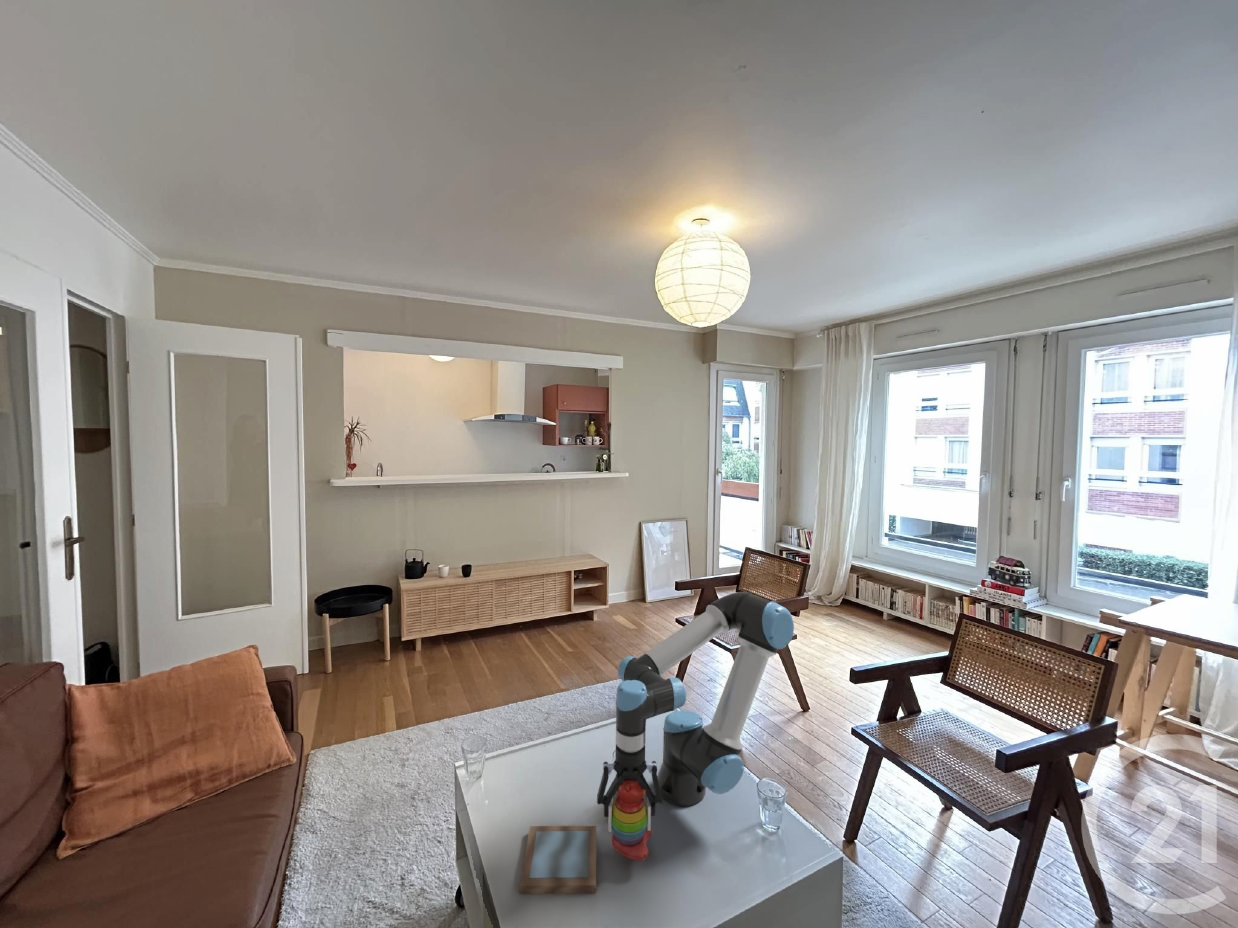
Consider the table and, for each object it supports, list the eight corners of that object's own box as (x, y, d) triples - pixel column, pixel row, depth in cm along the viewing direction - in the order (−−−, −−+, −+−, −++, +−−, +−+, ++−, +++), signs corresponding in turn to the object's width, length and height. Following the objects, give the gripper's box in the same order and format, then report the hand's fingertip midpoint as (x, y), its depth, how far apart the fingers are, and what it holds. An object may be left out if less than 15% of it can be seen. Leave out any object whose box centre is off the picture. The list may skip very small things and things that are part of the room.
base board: (596, 832, 139) (596, 824, 139) (595, 892, 121) (596, 884, 121) (530, 832, 138) (530, 825, 138) (519, 893, 120) (519, 885, 120)
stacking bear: (646, 862, 125) (647, 794, 124) (606, 855, 127) (607, 788, 126) (652, 828, 136) (653, 765, 134) (615, 822, 138) (616, 760, 136)
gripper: (671, 734, 133) (669, 814, 135) (587, 735, 132) (586, 816, 134) (675, 752, 126) (673, 837, 128) (586, 753, 125) (586, 839, 127)
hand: (629, 826), depth 131 cm, fingers closed on stacking bear, 9 cm apart
